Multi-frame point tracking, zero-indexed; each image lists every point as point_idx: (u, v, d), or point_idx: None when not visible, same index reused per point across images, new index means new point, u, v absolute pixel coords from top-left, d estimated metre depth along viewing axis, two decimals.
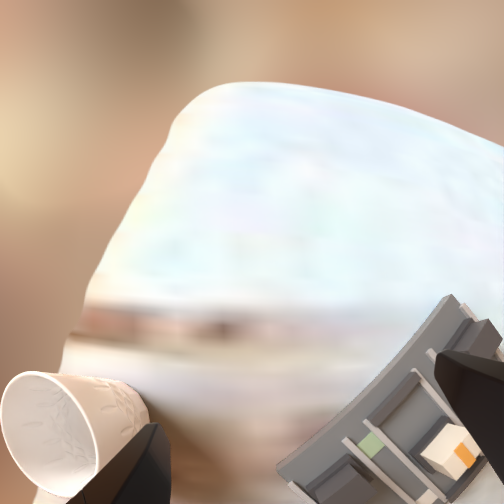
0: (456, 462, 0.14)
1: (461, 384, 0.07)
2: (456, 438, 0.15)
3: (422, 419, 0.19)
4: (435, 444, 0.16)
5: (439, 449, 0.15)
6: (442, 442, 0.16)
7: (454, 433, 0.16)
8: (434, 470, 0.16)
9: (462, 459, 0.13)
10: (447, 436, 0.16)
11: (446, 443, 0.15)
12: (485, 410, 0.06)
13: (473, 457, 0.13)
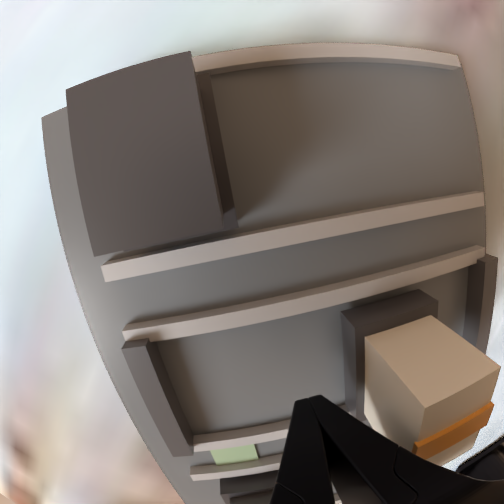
0: (443, 451, 0.06)
1: None
2: (402, 414, 0.06)
3: (261, 360, 0.10)
4: (373, 402, 0.08)
5: (385, 427, 0.07)
6: (381, 406, 0.07)
7: (392, 389, 0.07)
8: None
9: (451, 444, 0.05)
10: (383, 390, 0.07)
11: (390, 415, 0.07)
12: (341, 477, 0.06)
13: (482, 412, 0.05)
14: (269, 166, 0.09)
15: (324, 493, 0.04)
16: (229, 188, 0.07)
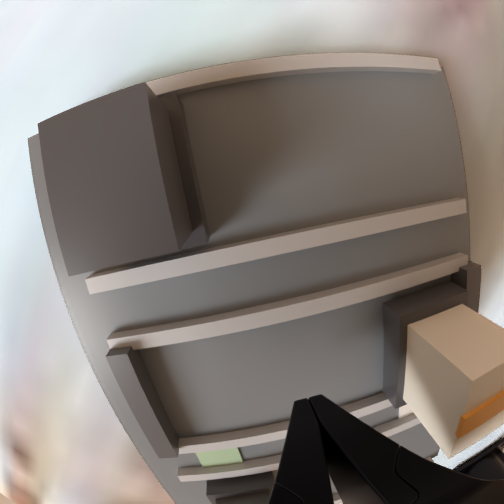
0: (481, 425, 0.06)
1: (322, 439, 0.07)
2: (448, 391, 0.06)
3: (239, 368, 0.10)
4: (415, 385, 0.08)
5: (427, 407, 0.08)
6: (425, 387, 0.08)
7: (437, 370, 0.07)
8: None
9: (489, 417, 0.06)
10: (426, 372, 0.08)
11: (434, 395, 0.07)
12: (341, 476, 0.06)
13: None
14: (240, 181, 0.09)
15: (323, 493, 0.04)
16: (197, 206, 0.08)
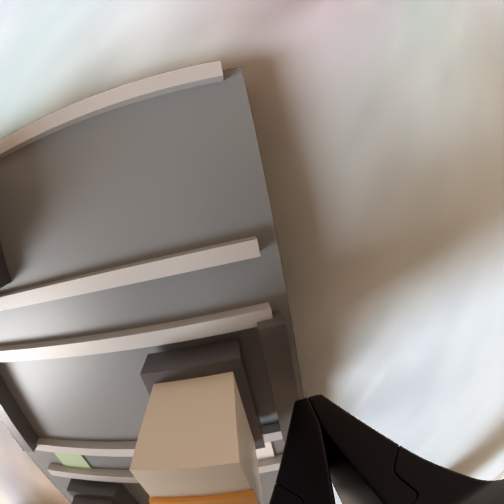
0: None
1: None
2: None
3: (56, 389, 0.10)
4: None
5: None
6: None
7: None
8: (256, 443, 0.09)
9: None
10: None
11: None
12: (341, 477, 0.06)
13: (236, 497, 0.05)
14: (22, 238, 0.08)
15: (324, 493, 0.04)
16: None
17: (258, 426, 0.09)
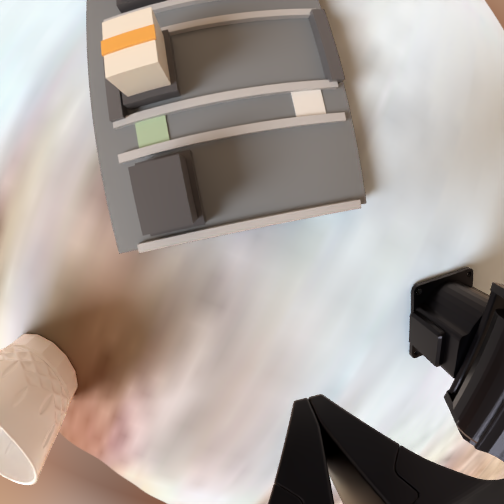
0: (126, 54, 0.10)
1: (322, 439, 0.07)
2: None
3: None
4: None
5: None
6: None
7: None
8: (172, 85, 0.14)
9: (126, 44, 0.10)
10: None
11: None
12: (341, 477, 0.06)
13: (144, 27, 0.10)
14: None
15: (323, 493, 0.04)
16: None
17: (174, 71, 0.14)
